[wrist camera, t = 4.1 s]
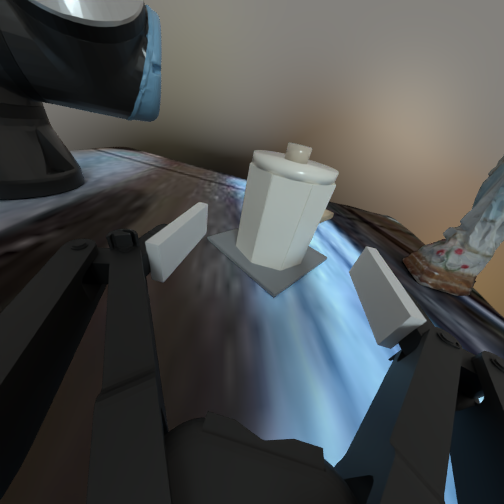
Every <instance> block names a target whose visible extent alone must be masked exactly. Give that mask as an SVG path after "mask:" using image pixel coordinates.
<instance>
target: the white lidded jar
mask: <svg viewBox="0 0 504 504" xmlns="http://www.w3.org/2000/svg"><path fill="white" fill-rule="evenodd" d="M311 151H312V148H310V147H307V146H303V145H299V144H294V143H288V147H287V151H286V154H283V153H278V152H273V151H265V150H256V151H254V155H253V160H252V162H251V163H250V167H249V173H248V178H247V184H246V190H245V196H244V202H243V207H242V213H241V219H240V225H239V231H238V236H237V242H236V247H237V248H238V249H239V250H240V251H241V252H242V253H243V255H244V256H245V257H246V258H247V259H248V260H249V261H250V262H251V263H254V264H258V265H261V266H265V267H269V268H272V269H276V270H279V271H280V270H284V269H287V268H290V267H293V266H295V265H298V264H301V262H302V259H303V257H304V255H305V253H306V251H307V248H308V246H309V244H310V242H311V240H312V237H313V235H314V233H315V231H316V229H317V226H318V224H319V222H320V220H321V218H322V215H323V213H324V211H325V209H326V206H327V204H328V202H329V200H330V198H331V195H332V193H333V191H334V189H335V187H336V184H335V183H334V182H335V180H336V178H337V175H338V173H339V172H338V171H337V170H335V169H333V168H331V167H329V166H326V165H323V164H320V163H317V162H314V161H311V160H309V157H310V154H311Z"/></svg>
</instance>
